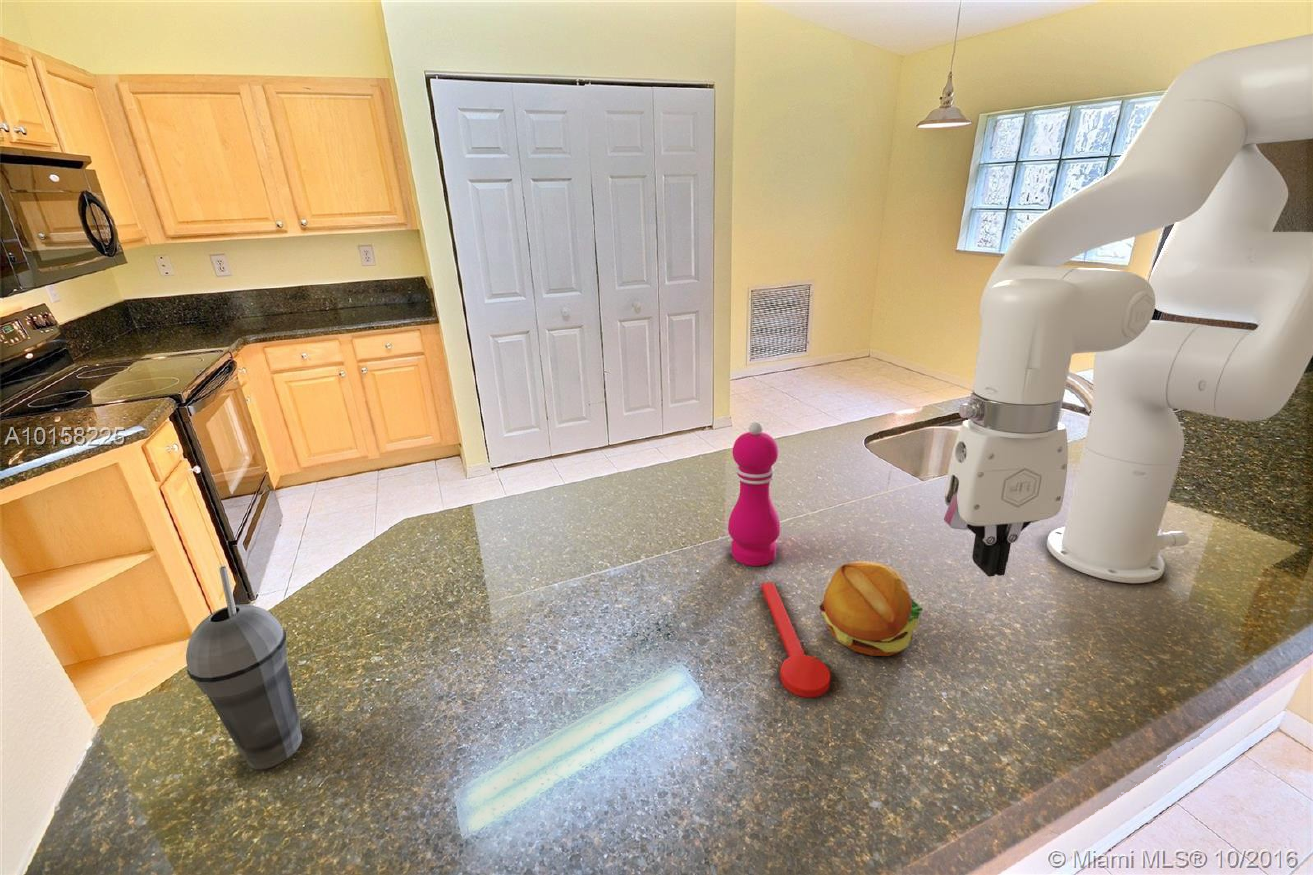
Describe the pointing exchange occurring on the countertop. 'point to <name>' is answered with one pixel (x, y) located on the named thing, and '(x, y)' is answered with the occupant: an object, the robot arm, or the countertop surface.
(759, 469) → the pepper mill
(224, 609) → the beverage cup
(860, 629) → the cheeseburger
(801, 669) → the spoon
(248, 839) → the countertop surface
